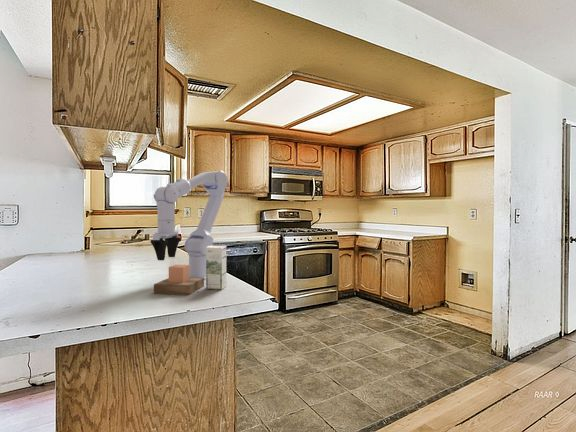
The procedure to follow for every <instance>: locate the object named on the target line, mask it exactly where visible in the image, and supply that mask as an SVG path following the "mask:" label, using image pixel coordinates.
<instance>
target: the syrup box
mask: <svg viewBox="0 0 576 432" xmlns="http://www.w3.org/2000/svg"><path fill="white" fill-rule="evenodd" d="M205 281H206V282H205V284H206V285H205V290H223V288H224V289H225V288H226V287H227V245H216V244H215V245H213V244H212V245H210V246H207V247H206V279H205Z"/></svg>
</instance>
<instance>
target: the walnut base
mask: <svg viewBox="0 0 576 432" xmlns="http://www.w3.org/2000/svg"><path fill="white" fill-rule="evenodd" d="M203 287H205V279H204V278H197V277H190V280H188V281H186V282H183V283H178V282H169V277H168V278H166V279H163V280H160V281H158V282H155V283H154V284H153V294H155V295H157V294H158V295H178V296H179V295H180V296H181V295H182V296H186V295H187V296H190V295H192V294H194V293H195V292H197V291H199V290H200V289H202V288H203Z"/></svg>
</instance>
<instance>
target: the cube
mask: <svg viewBox="0 0 576 432" xmlns="http://www.w3.org/2000/svg"><path fill="white" fill-rule="evenodd" d="M168 278H169V282H178V283H183V282H186V281H188V280H190V265H189V264H173V265H171V266H168Z"/></svg>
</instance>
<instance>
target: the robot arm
mask: <svg viewBox="0 0 576 432" xmlns="http://www.w3.org/2000/svg"><path fill="white" fill-rule="evenodd" d="M228 183H229V180H228V177H227V174H226V172H225V171H223V170H218V171H216V170H215V171H203V172H200V173H198V174H197V175H195V176H192V177H191V178H189V179H187V180H186V179H184V178H177V179H176V180H175V181H174V182H172V183H167V184H166V186H160V187H158V188H156V190H155V191H154V194H153V199H154V201H155V202H156V207H157V232H154V233H153V234H152V239H150V244H151V245H152V247H153V250H154V251H155V254H156V259H157V261H165V258H166V249H167V256H168V258H176V253H177V249H178V245H179V244H180V242H181V239H182V237H179V231H175V230H176V226H175V225H176V224H175V223H176V221H175V220H176V218H175V213H176V210H175V209H176V207H175V206H176V204H175V203H176V202H177V201H178V199H179V198H181V197H183V196H186V195H188V194H190V192H191V189H192V188H195V187H198V186H200V185H202V186H203V188H204V190H205V191H206V193H207V194H208V195H209V198H208V201H207V202H206V205H205V207H204V210H203V213H202V216H201V217H200V220H199V223H198V225H197V227H196V229H195V230H194V231H192V232H191V233H190V235H189V237H187V239H186V240H185V242H184V250H185V252H186V253H187V256H188V265H190V277H197V278H204V280H206V247H207V246H210V245H213V241H214V238H213V236H212V235H211V232H212V229H213V227H214V224H215V221H216V218H217V216H218V214H219V210H220V208H221V206H222V203H223V200H224V196H225V192H226V191H225V190H226V188H227V185H228Z"/></svg>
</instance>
